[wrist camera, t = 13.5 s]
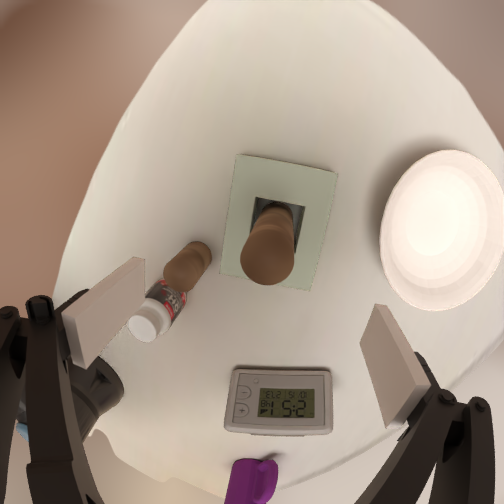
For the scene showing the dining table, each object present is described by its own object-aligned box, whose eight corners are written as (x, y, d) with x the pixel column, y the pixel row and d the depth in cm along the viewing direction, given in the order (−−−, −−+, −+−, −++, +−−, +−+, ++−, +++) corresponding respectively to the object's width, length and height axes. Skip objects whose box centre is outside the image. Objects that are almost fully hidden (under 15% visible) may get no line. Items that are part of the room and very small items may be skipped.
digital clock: (336, 368, 42) (343, 417, 32) (319, 403, 45) (321, 450, 35) (236, 351, 43) (222, 400, 33) (229, 388, 46) (217, 435, 36)
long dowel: (258, 229, 36) (236, 279, 22) (263, 198, 35) (244, 229, 21) (289, 235, 36) (288, 289, 22) (295, 204, 34) (299, 240, 20)
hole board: (226, 261, 38) (219, 273, 34) (242, 154, 33) (236, 154, 29) (308, 277, 37) (310, 291, 33) (332, 171, 32) (338, 173, 29)
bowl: (497, 185, 29) (523, 192, 23) (450, 303, 36) (469, 324, 30) (392, 124, 29) (412, 118, 23) (343, 267, 36) (352, 289, 30)
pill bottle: (194, 292, 40) (169, 330, 31) (176, 316, 42) (150, 354, 33) (164, 269, 40) (131, 302, 30) (148, 294, 41) (116, 328, 32)
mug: (226, 465, 56) (215, 513, 42) (260, 444, 51) (251, 501, 37) (257, 475, 57) (250, 522, 43) (293, 456, 52) (290, 510, 38)
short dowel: (182, 266, 39) (162, 288, 32) (184, 238, 38) (164, 256, 31) (210, 272, 39) (194, 295, 32) (213, 244, 37) (197, 263, 31)
